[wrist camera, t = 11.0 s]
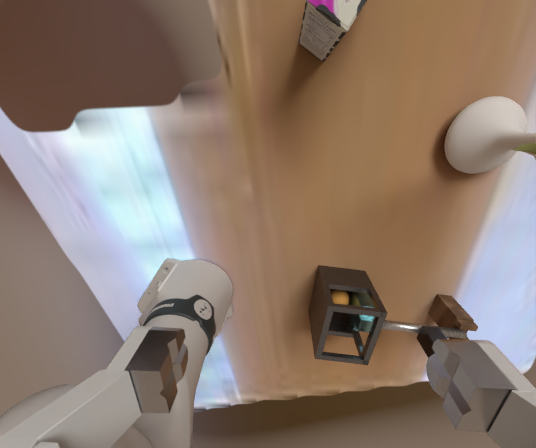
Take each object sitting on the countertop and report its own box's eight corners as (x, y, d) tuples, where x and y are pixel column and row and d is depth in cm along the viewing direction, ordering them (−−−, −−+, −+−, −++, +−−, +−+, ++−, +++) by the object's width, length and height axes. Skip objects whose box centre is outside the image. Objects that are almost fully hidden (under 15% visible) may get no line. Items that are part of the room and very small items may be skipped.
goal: (365, 270, 53) (387, 312, 42) (351, 316, 57) (367, 365, 46) (318, 265, 53) (328, 305, 42) (308, 311, 57) (314, 358, 46)
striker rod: (446, 295, 53) (499, 354, 40) (435, 318, 55) (482, 380, 43) (351, 284, 53) (374, 339, 40) (345, 307, 55) (364, 365, 43)
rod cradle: (451, 296, 54) (479, 325, 46) (442, 314, 56) (467, 346, 48) (437, 294, 54) (462, 323, 46) (428, 312, 56) (451, 344, 48)
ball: (329, 312, 53) (340, 304, 56) (346, 311, 50) (355, 302, 53) (322, 294, 53) (332, 286, 56) (338, 291, 51) (348, 284, 53)
